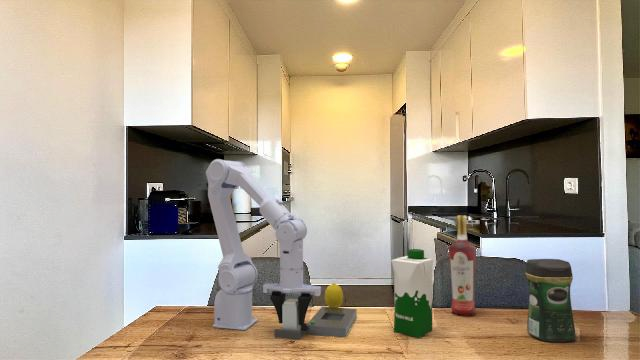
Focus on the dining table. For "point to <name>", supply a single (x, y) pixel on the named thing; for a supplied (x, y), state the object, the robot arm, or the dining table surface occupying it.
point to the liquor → (462, 271)
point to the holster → (291, 333)
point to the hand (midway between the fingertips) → (291, 323)
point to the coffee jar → (550, 300)
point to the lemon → (333, 296)
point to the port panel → (331, 322)
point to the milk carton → (413, 294)
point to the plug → (290, 315)
